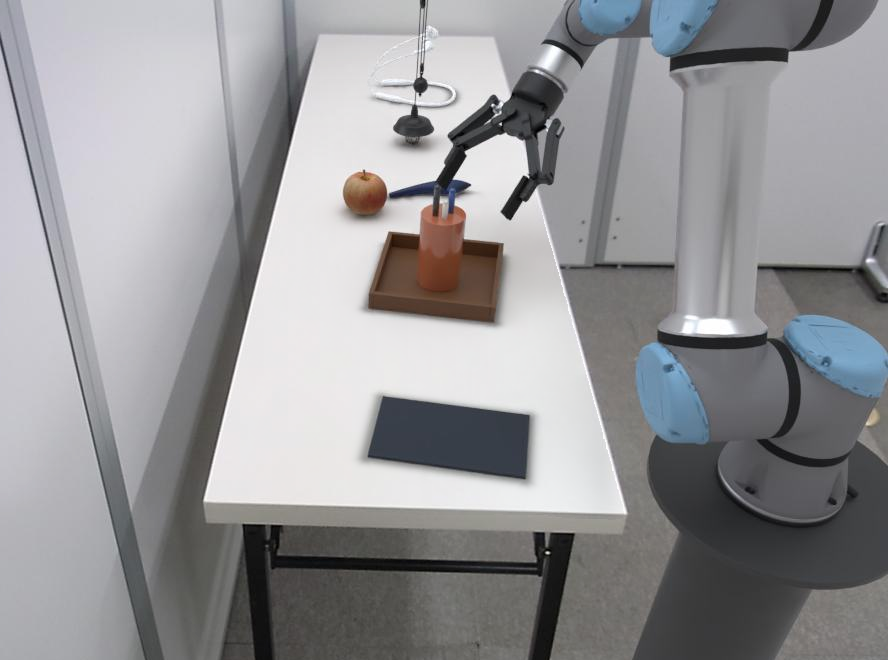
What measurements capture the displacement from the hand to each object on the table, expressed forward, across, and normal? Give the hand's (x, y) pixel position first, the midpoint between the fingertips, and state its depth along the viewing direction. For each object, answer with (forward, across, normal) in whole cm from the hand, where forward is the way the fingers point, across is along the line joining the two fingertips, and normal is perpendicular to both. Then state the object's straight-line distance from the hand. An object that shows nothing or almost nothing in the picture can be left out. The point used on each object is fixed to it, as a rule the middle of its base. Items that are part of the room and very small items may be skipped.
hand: (472, 201), depth 142 cm
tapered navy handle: (-1, +22, -19) cm, 29 cm away
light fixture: (-11, +39, -28) cm, 49 cm away
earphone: (-25, +58, -42) cm, 76 cm away
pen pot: (+13, 0, -4) cm, 14 cm away
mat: (+32, -27, +15) cm, 44 cm away
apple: (+8, +25, -9) cm, 28 cm away
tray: (+13, 0, -4) cm, 14 cm away
